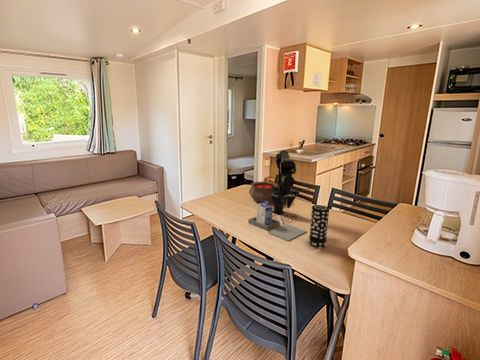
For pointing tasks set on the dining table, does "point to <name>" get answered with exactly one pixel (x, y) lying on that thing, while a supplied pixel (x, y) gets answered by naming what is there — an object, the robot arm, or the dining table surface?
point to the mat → (287, 232)
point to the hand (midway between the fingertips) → (284, 209)
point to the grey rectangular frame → (262, 226)
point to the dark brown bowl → (261, 191)
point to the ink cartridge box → (264, 213)
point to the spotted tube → (318, 226)
